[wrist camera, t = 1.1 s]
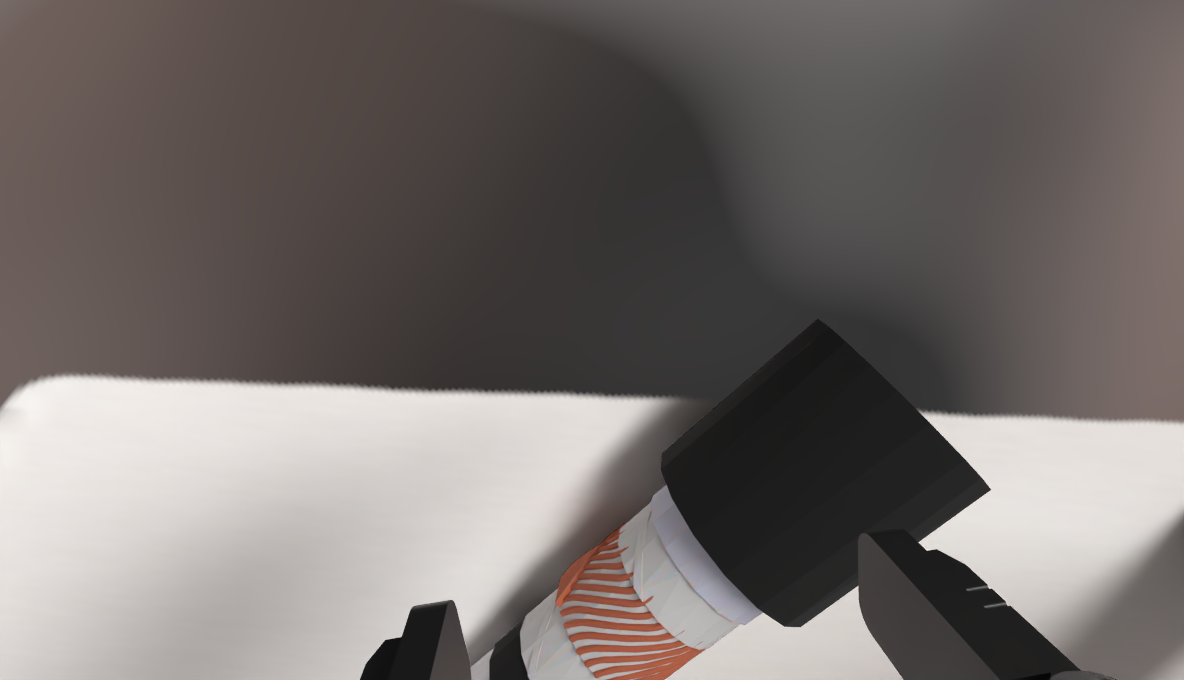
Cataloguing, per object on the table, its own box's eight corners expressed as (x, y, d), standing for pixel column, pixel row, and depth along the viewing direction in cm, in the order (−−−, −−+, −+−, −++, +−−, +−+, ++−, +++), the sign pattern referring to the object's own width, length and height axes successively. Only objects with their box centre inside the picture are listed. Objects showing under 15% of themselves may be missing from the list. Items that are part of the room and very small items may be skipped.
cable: (433, 653, 41) (322, 747, 31) (814, 322, 33) (820, 314, 23) (521, 784, 39) (429, 929, 29) (955, 464, 30) (1026, 519, 21)
